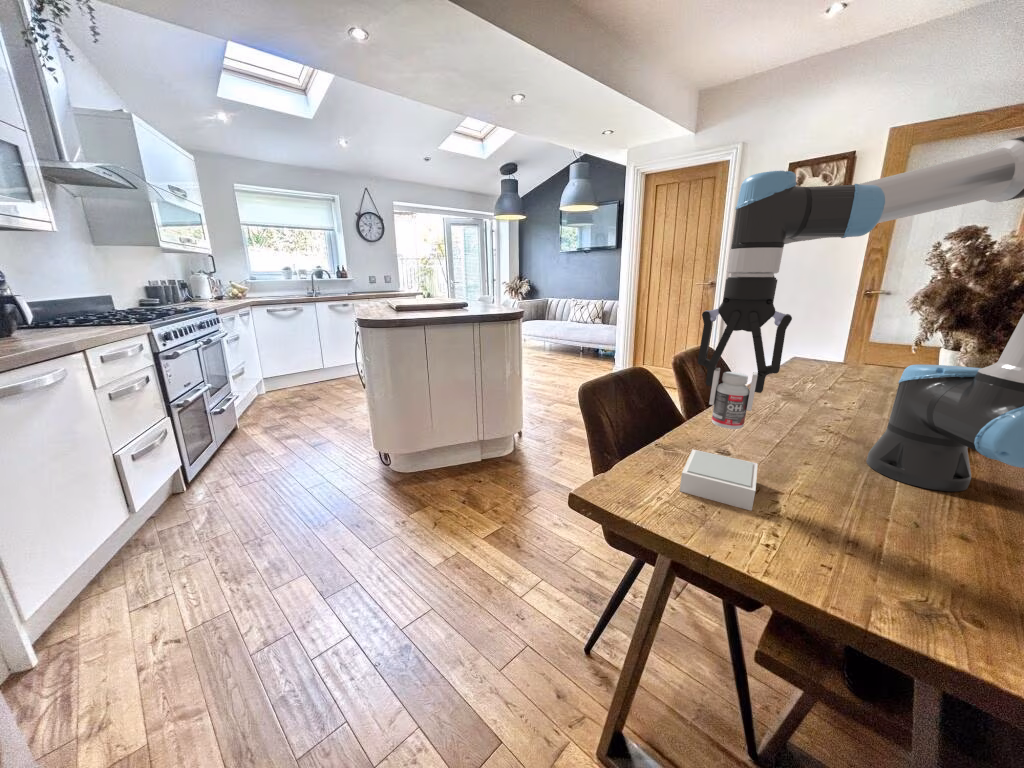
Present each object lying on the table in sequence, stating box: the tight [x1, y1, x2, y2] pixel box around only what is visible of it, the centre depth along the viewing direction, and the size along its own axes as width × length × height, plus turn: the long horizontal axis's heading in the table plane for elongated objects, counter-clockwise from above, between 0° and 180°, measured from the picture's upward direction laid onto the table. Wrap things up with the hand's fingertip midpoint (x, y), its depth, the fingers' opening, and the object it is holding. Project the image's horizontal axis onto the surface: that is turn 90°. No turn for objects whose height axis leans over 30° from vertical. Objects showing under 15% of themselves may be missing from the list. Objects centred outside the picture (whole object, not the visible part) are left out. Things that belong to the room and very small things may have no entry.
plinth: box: [679, 448, 759, 511], centre depth 76 cm, size 12×12×4 cm
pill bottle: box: [711, 371, 750, 430], centre depth 72 cm, size 5×5×10 cm
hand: (730, 405), depth 72 cm, fingers closed on pill bottle, 5 cm apart
